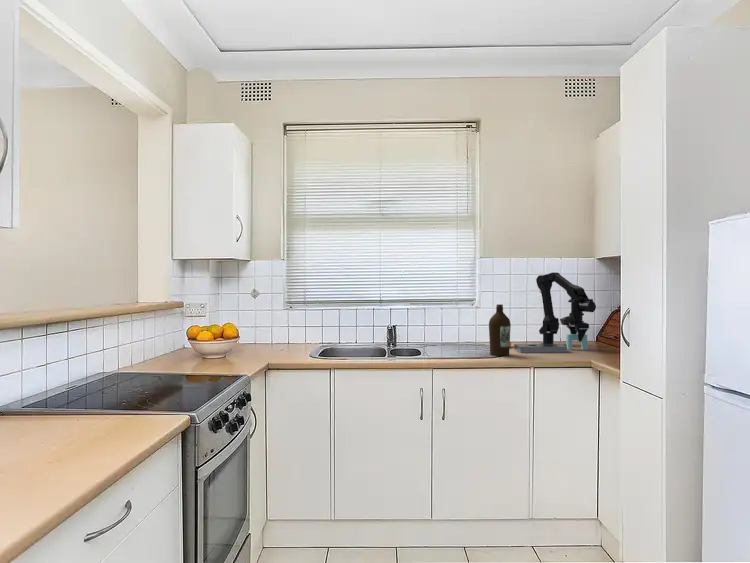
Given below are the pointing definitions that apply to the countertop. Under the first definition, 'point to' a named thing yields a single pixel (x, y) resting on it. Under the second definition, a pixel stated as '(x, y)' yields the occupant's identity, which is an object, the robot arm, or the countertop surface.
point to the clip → (575, 338)
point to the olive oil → (499, 333)
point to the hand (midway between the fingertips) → (576, 340)
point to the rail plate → (540, 348)
